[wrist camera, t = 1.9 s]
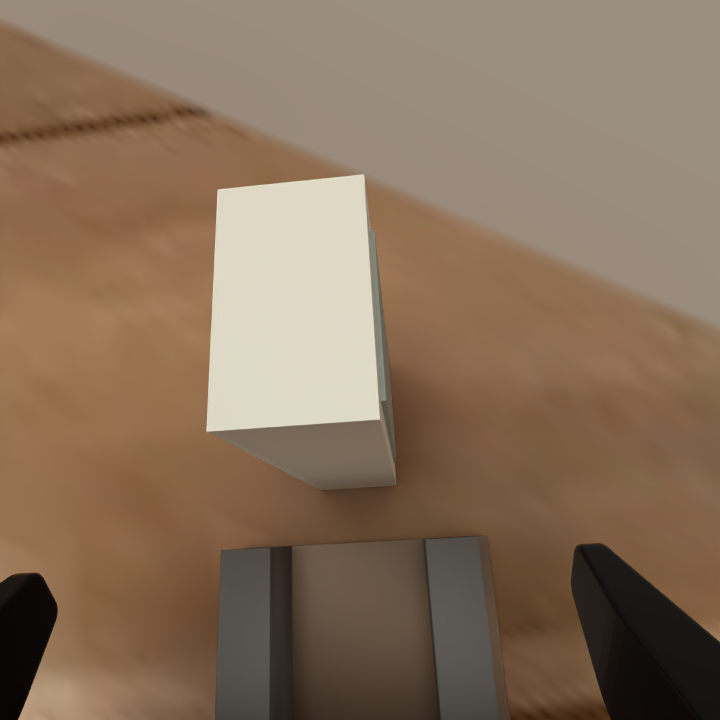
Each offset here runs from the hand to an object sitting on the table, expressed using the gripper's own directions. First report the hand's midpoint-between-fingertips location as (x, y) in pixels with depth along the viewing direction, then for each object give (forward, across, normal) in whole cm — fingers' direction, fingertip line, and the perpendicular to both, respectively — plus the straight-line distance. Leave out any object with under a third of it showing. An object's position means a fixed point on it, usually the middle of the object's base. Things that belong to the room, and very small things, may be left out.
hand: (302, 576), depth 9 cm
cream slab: (+12, 0, +5) cm, 12 cm away
